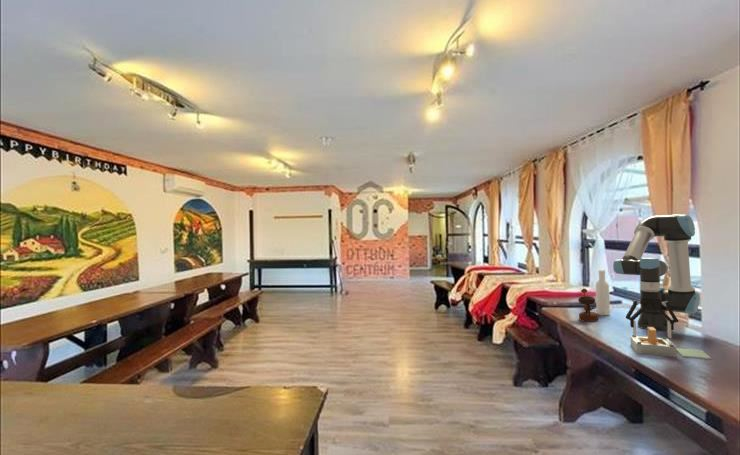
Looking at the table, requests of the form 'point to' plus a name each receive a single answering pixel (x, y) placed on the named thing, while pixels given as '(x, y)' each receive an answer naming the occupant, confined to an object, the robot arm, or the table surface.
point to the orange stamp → (651, 336)
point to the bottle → (602, 295)
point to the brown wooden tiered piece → (587, 308)
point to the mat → (692, 353)
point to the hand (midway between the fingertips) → (651, 335)
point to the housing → (653, 346)
